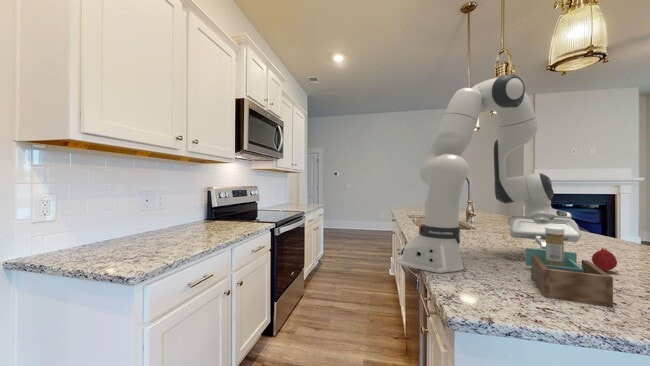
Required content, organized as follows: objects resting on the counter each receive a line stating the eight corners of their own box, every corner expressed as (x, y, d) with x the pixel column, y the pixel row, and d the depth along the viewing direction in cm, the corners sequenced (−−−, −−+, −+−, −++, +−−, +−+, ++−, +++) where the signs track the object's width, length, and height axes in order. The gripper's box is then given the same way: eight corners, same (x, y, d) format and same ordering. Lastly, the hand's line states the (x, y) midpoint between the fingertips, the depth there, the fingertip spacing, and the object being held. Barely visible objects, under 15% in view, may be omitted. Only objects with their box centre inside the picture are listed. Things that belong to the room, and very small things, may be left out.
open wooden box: (543, 296, 71) (543, 269, 71) (531, 277, 85) (531, 254, 85) (613, 307, 64) (612, 277, 64) (587, 284, 79) (587, 260, 79)
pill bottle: (566, 271, 84) (566, 227, 84) (561, 273, 82) (561, 229, 82) (548, 267, 88) (548, 225, 88) (542, 269, 86) (542, 227, 86)
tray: (533, 276, 82) (533, 257, 82) (525, 264, 94) (525, 247, 94) (591, 284, 76) (591, 263, 76) (575, 270, 88) (575, 252, 88)
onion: (622, 274, 87) (622, 249, 87) (604, 274, 87) (604, 249, 87) (604, 268, 93) (604, 245, 93) (587, 268, 93) (587, 245, 93)
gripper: (507, 211, 107) (511, 240, 99) (576, 213, 97) (586, 246, 89) (506, 220, 111) (509, 250, 102) (572, 224, 101) (582, 256, 93)
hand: (546, 248), depth 96 cm, fingers closed
